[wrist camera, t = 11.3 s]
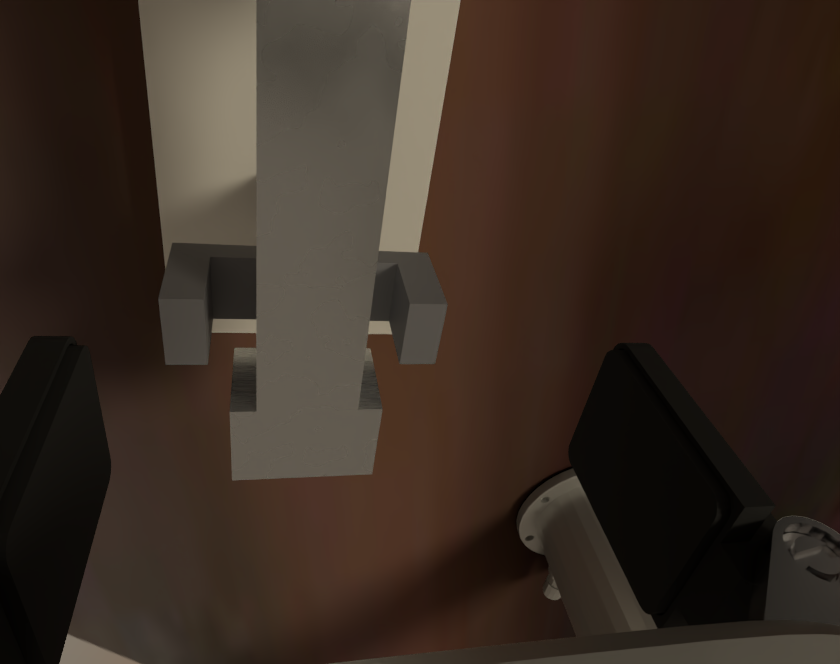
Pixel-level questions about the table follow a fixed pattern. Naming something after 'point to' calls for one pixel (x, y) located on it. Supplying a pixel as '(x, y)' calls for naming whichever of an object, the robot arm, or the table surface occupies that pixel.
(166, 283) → the rack
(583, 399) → the table surface
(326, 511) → the table surface
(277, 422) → the grey upright bar
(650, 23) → the table surface
